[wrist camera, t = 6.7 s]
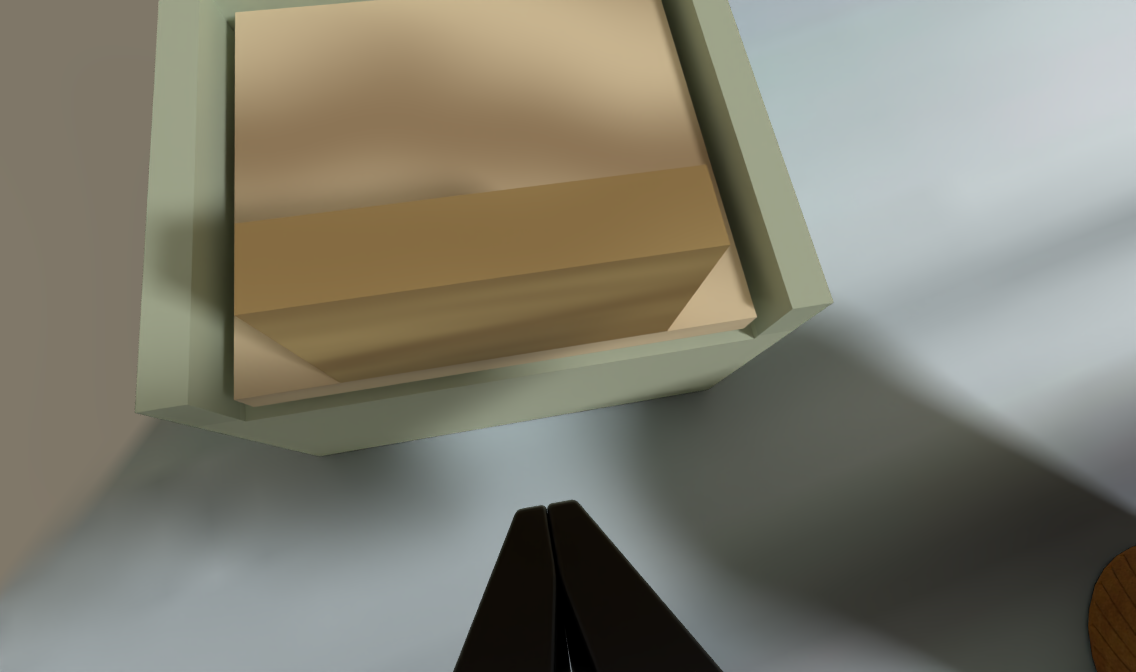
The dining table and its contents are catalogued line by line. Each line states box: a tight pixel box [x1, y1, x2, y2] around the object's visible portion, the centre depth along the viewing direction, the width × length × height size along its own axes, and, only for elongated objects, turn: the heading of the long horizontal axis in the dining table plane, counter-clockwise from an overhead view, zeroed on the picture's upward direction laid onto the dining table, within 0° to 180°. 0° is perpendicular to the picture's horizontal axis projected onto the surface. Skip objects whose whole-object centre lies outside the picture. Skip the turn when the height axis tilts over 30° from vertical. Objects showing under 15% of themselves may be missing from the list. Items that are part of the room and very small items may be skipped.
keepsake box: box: [135, 0, 834, 456], centre depth 14 cm, size 10×12×8 cm
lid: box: [234, 0, 757, 407], centre depth 10 cm, size 9×10×4 cm
